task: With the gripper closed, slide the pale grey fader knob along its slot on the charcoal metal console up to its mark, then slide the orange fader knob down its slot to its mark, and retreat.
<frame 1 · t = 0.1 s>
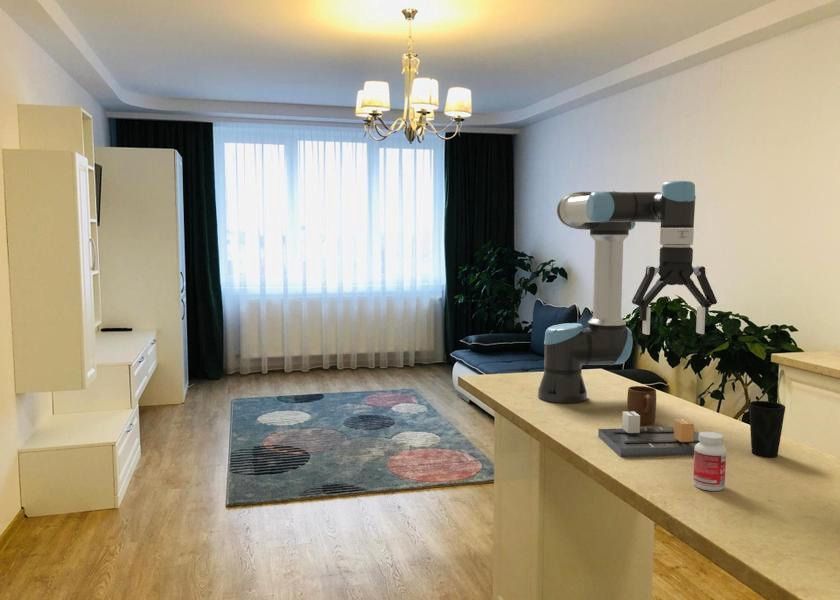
hand: (673, 333, 168), 28 cm above the table, fingers open, 13 cm apart
mug: (643, 425, 189), on the table
cup: (764, 454, 164), on the table
pill bottle: (708, 487, 144), on the table
console: (656, 445, 171), on the table
fader B: (683, 430, 167), point 5 cm above the table, slide at 5.0 cm
fader A: (631, 421, 174), point 5 cm above the table, slide at -5.0 cm
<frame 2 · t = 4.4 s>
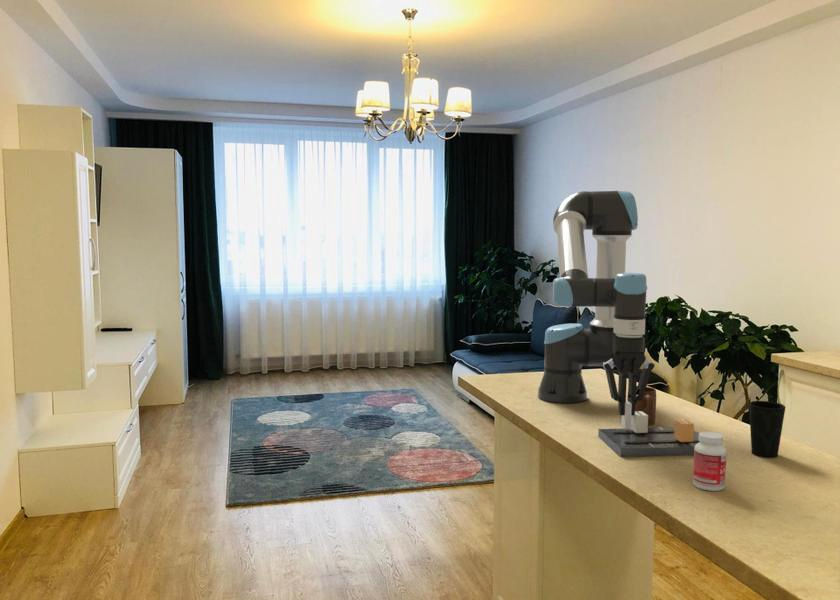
hand: (626, 427, 174), 3 cm above the table, fingers closed
fader A: (638, 421, 174), point 5 cm above the table, slide at -3.0 cm, touching gripper
everything else where it was.
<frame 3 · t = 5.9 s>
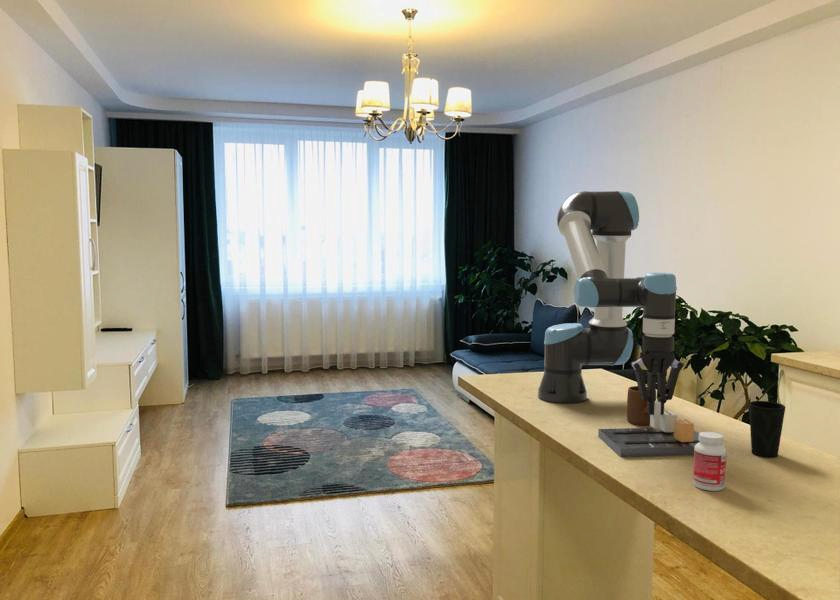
hand: (654, 426, 174), 3 cm above the table, fingers closed
fader A: (667, 421, 175), point 5 cm above the table, slide at 4.5 cm, touching gripper
everything else where it was.
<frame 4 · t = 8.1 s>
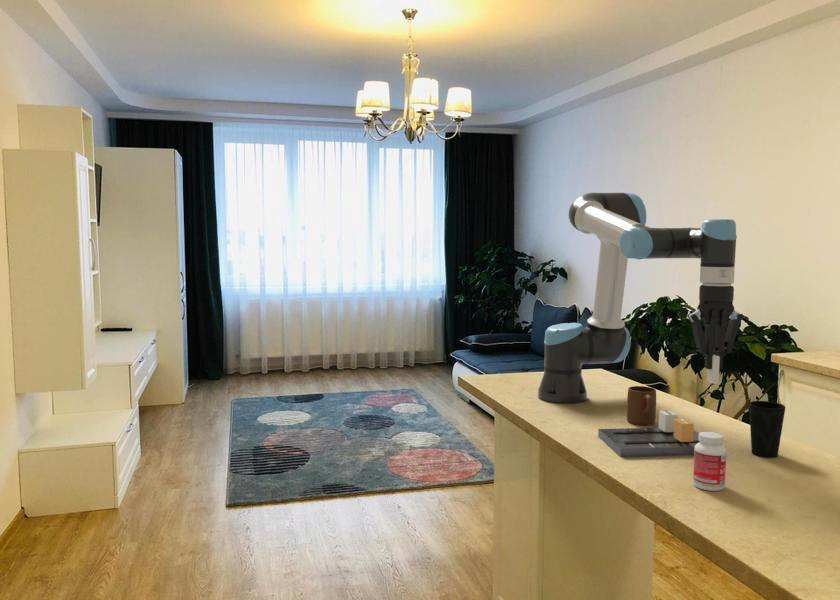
hand: (712, 382, 166), 17 cm above the table, fingers closed
fader A: (667, 421, 175), point 5 cm above the table, slide at 4.5 cm
everything else where it was.
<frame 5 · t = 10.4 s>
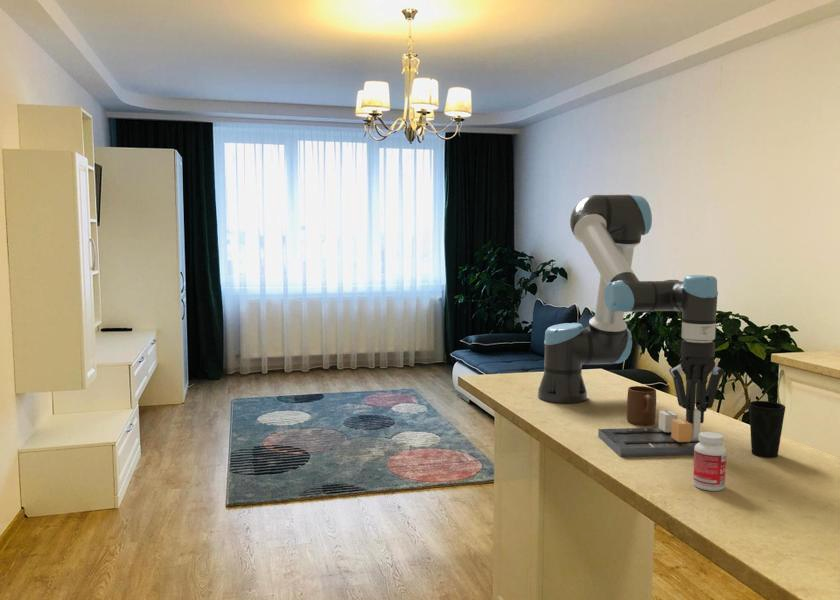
hand: (694, 436, 167), 3 cm above the table, fingers closed
fader B: (681, 430, 167), point 5 cm above the table, slide at 4.3 cm, touching gripper
everything else where it was.
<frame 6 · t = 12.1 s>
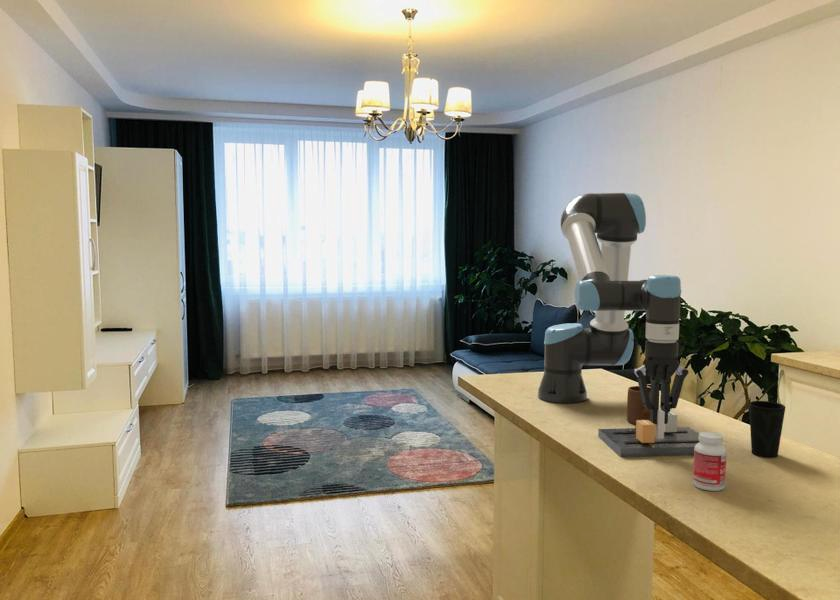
hand: (658, 436, 166), 3 cm above the table, fingers closed
fader B: (645, 431, 166), point 5 cm above the table, slide at -4.5 cm, touching gripper
everything else where it was.
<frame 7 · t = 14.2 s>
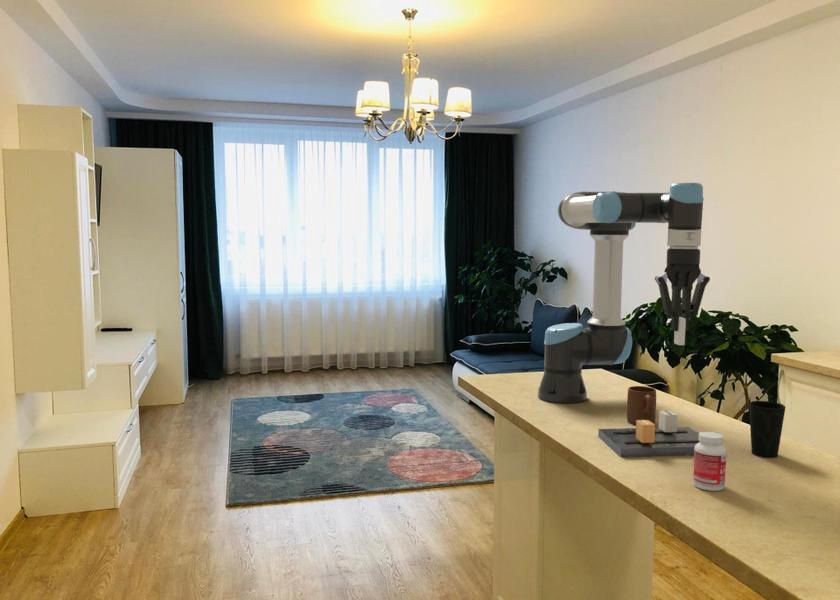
hand: (679, 344, 169), 25 cm above the table, fingers closed
fader B: (645, 431, 166), point 5 cm above the table, slide at -4.6 cm
everything else where it was.
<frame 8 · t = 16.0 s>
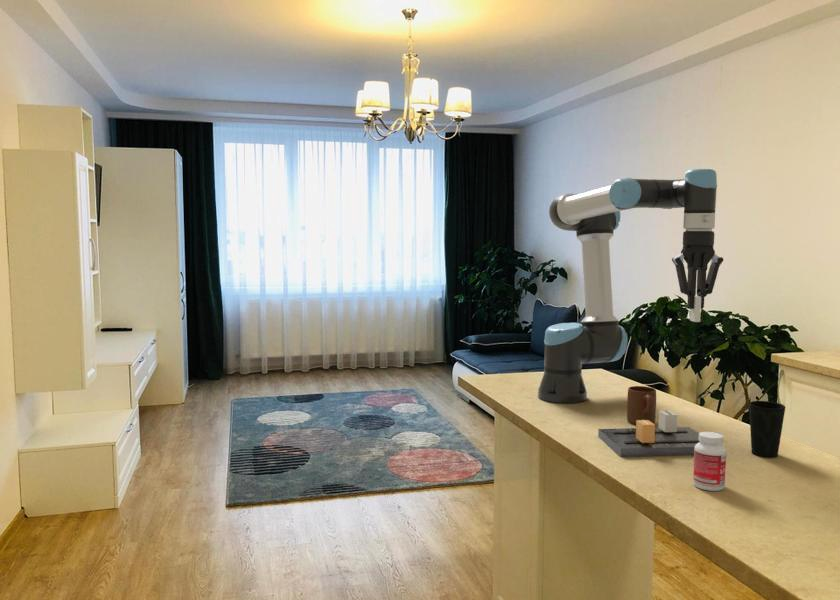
hand: (695, 321, 180), 29 cm above the table, fingers closed
nothing on the table moved.
at the end: fader A slide at 4.5 cm; fader B slide at -4.6 cm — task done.
